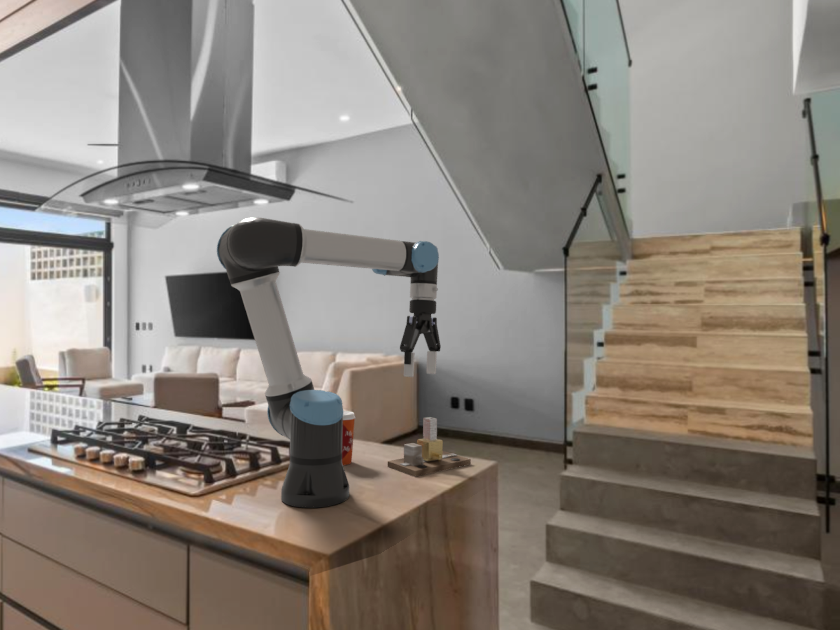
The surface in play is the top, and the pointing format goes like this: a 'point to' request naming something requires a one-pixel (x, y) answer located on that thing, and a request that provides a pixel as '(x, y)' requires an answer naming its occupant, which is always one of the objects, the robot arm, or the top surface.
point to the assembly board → (418, 466)
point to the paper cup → (347, 437)
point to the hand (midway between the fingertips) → (420, 375)
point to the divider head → (430, 440)
